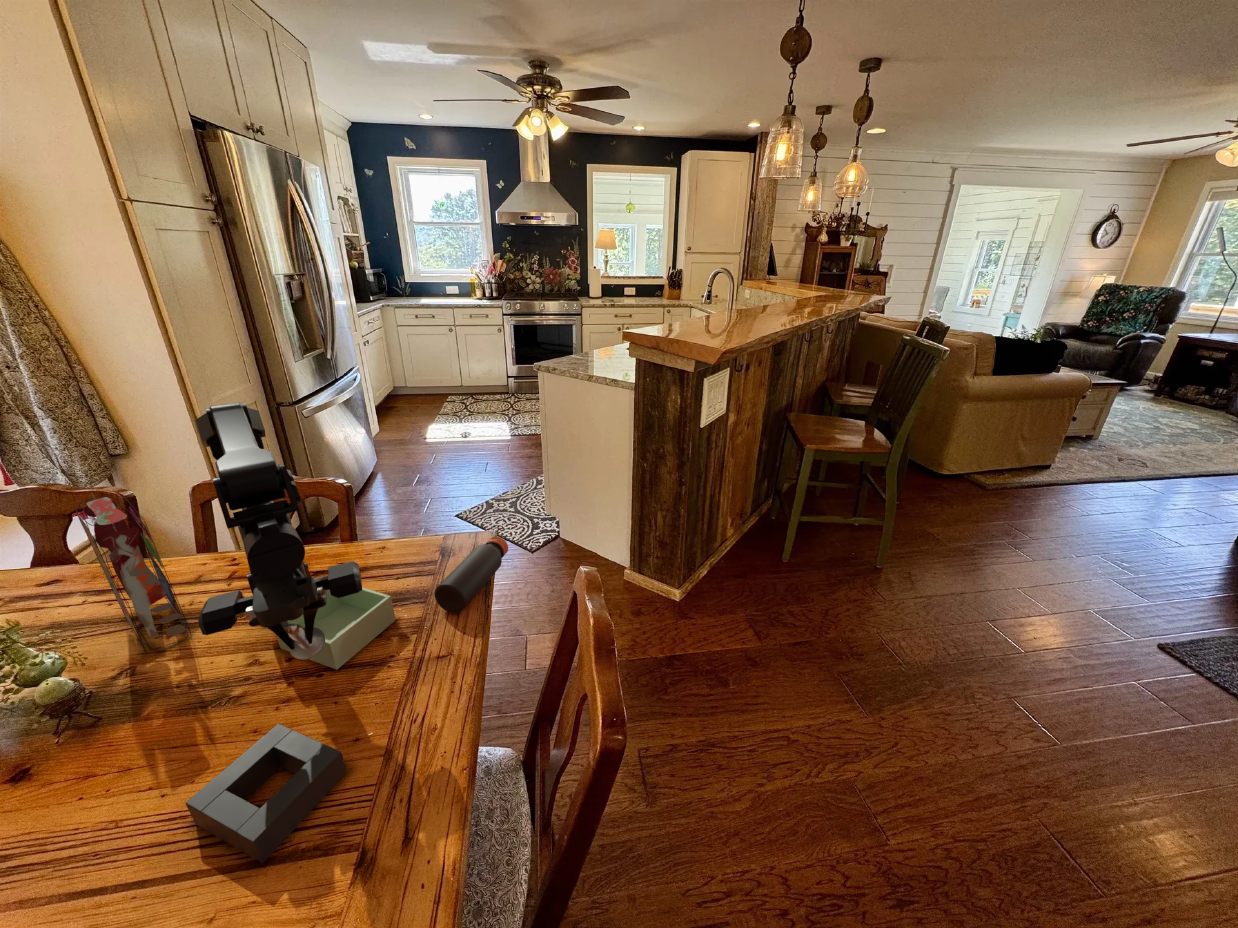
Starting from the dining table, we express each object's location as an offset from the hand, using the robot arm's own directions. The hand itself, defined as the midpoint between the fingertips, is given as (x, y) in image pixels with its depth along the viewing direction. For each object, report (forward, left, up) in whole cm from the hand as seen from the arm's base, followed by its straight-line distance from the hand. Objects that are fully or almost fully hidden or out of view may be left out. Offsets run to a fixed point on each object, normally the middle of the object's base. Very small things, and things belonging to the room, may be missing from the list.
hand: (302, 645), depth 72 cm
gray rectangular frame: (+8, -13, -11) cm, 19 cm away
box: (-45, +2, -11) cm, 47 cm away
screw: (-4, +3, -5) cm, 7 cm away
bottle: (+6, +24, -8) cm, 26 cm away
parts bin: (-9, +12, -11) cm, 19 cm away
